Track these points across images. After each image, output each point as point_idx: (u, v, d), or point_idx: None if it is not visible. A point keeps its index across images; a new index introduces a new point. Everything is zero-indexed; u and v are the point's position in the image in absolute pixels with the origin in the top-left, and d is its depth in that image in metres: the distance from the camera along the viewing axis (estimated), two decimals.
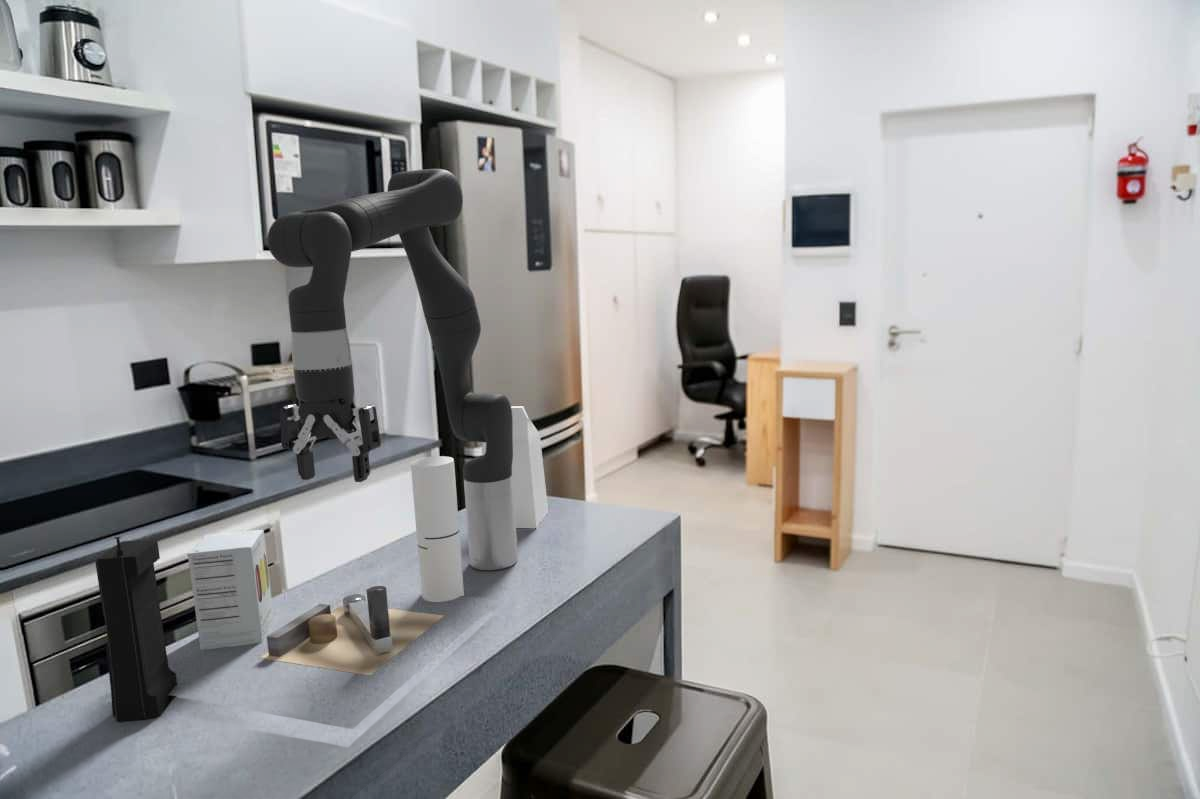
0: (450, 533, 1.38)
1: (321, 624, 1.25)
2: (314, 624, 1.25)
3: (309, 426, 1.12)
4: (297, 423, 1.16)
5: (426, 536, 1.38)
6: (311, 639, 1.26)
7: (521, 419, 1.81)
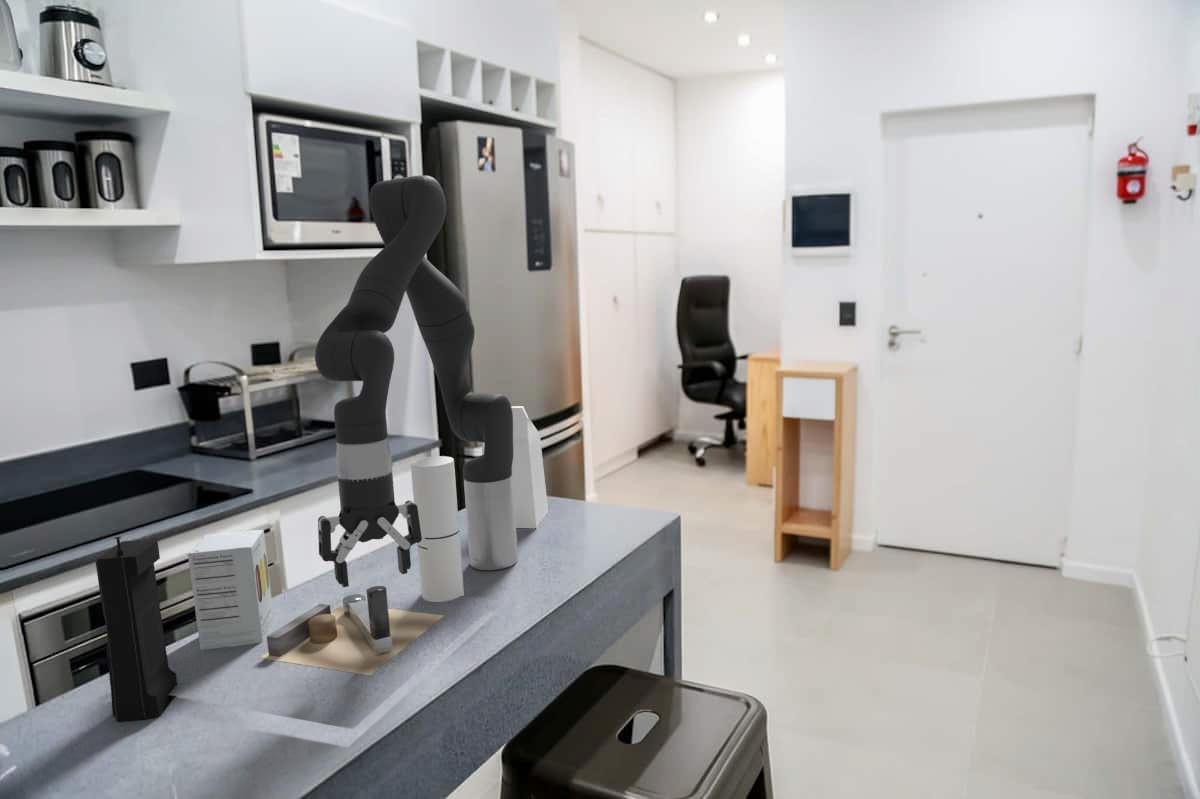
0: (450, 533, 1.38)
1: (321, 624, 1.25)
2: (314, 624, 1.25)
3: (360, 532, 1.17)
4: None
5: (426, 536, 1.38)
6: (311, 639, 1.26)
7: (521, 419, 1.81)
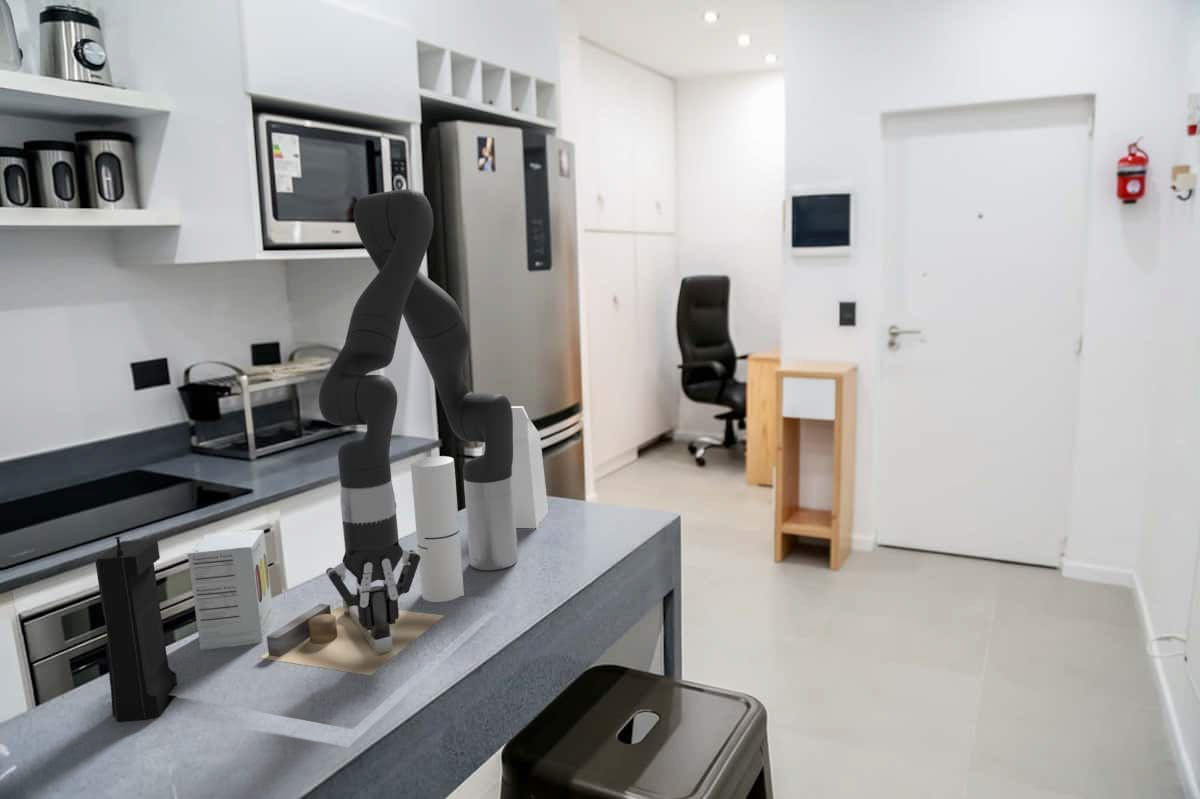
0: (450, 533, 1.38)
1: (321, 624, 1.25)
2: (314, 624, 1.25)
3: (369, 574, 1.18)
4: None
5: (426, 536, 1.38)
6: (311, 639, 1.26)
7: (521, 419, 1.81)
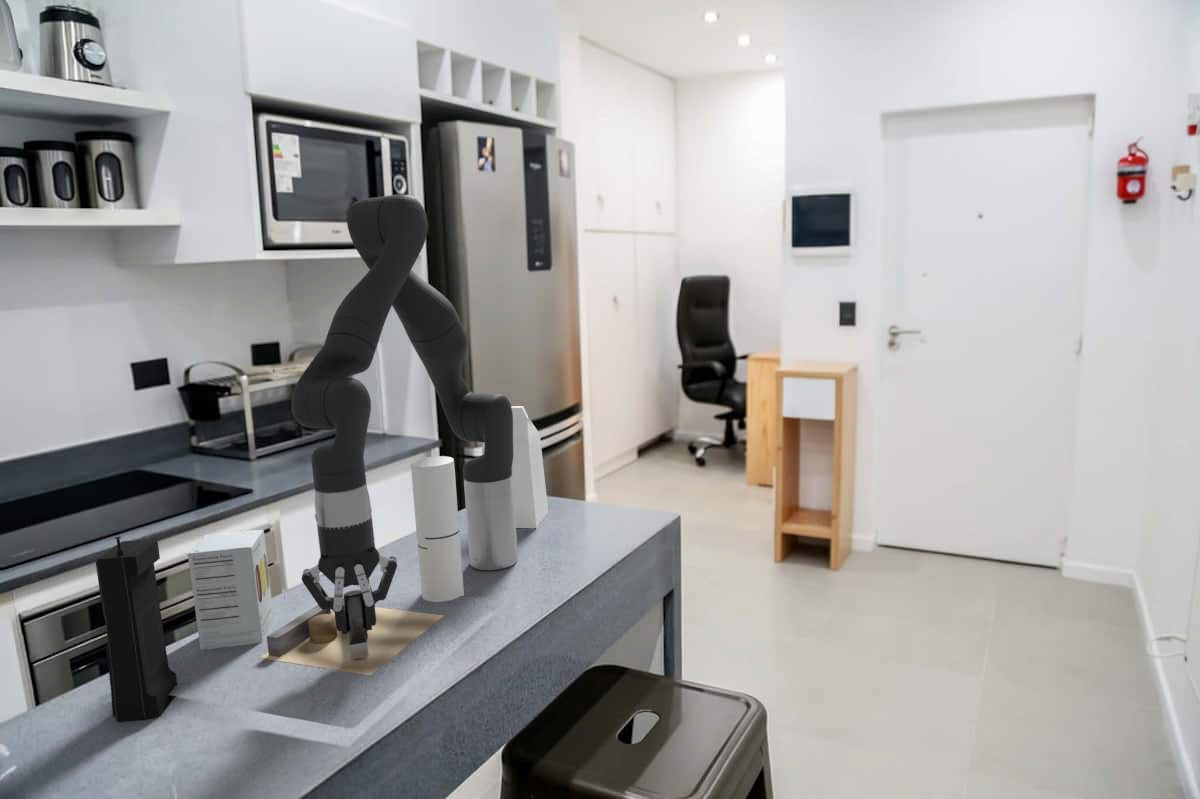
0: (450, 533, 1.38)
1: (320, 624, 1.25)
2: (313, 624, 1.25)
3: (341, 578, 1.17)
4: (318, 583, 1.19)
5: (426, 536, 1.38)
6: (311, 639, 1.26)
7: (521, 419, 1.81)
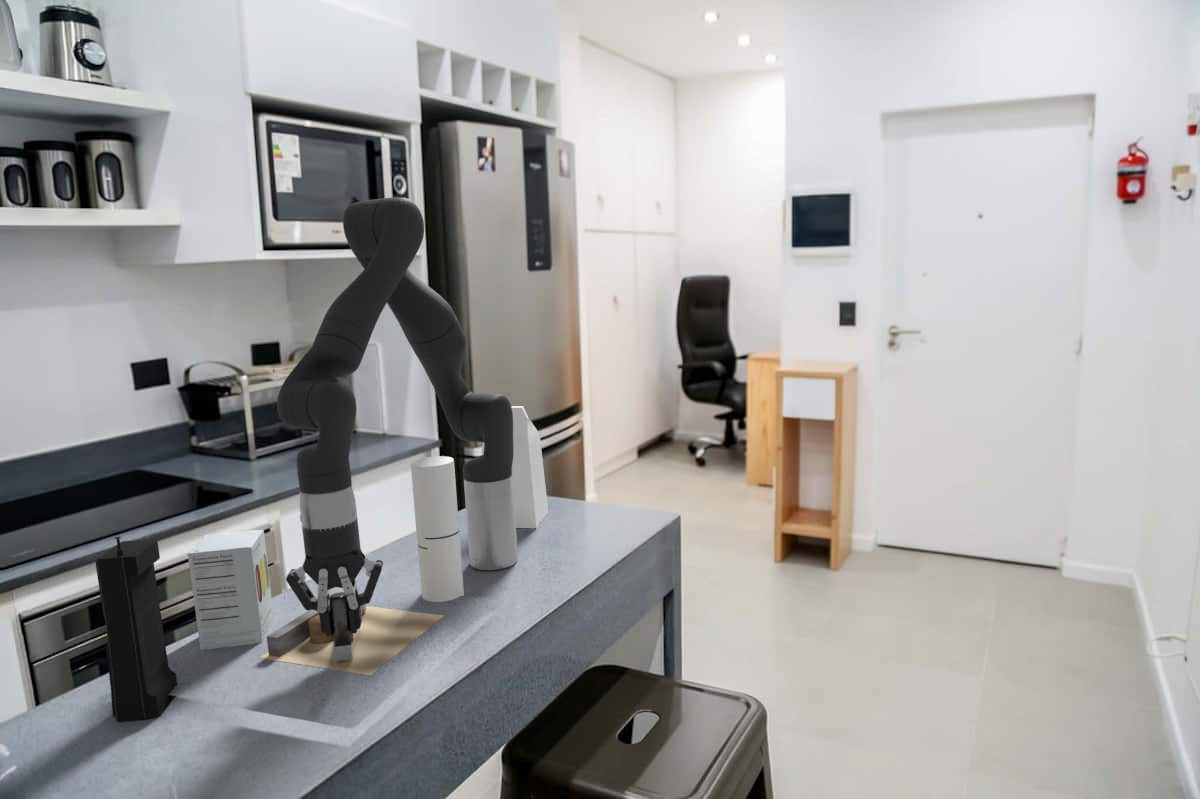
0: (450, 533, 1.38)
1: None
2: (313, 624, 1.25)
3: (324, 580, 1.16)
4: (305, 583, 1.19)
5: (426, 536, 1.38)
6: (311, 638, 1.26)
7: (521, 419, 1.81)
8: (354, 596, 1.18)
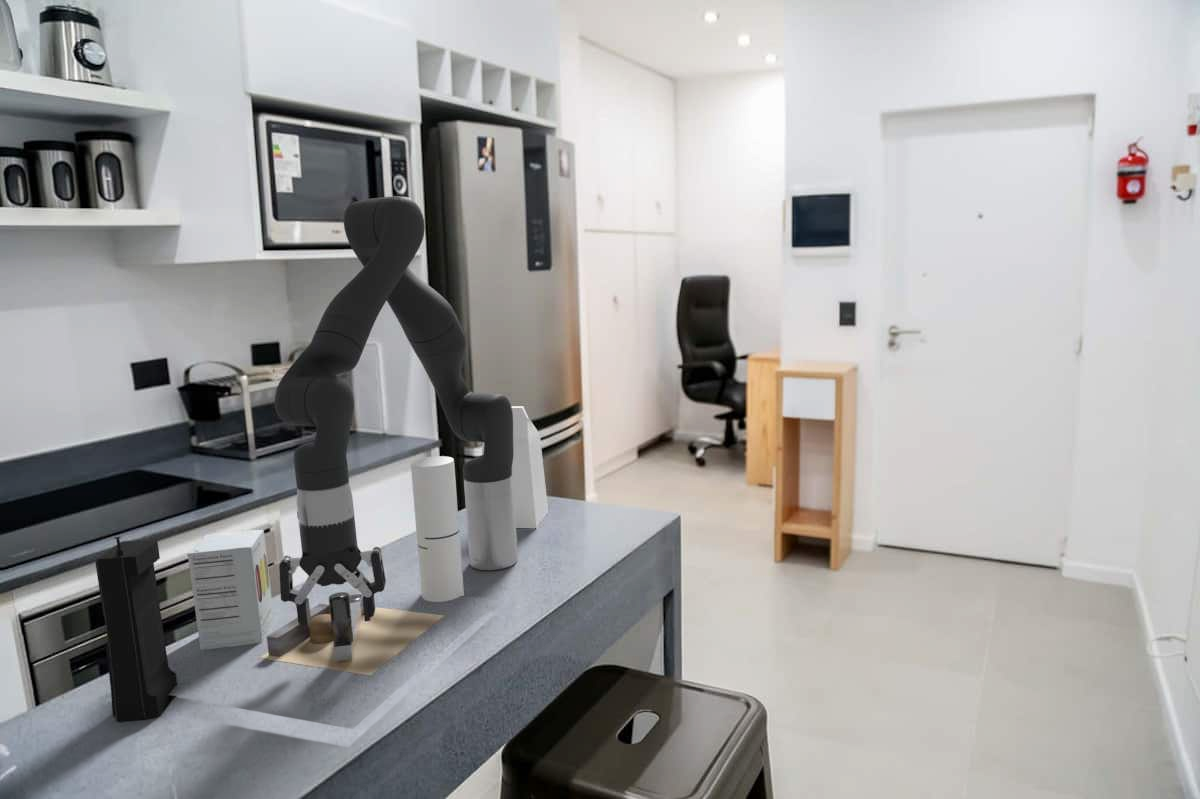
0: (450, 533, 1.38)
1: (320, 624, 1.25)
2: (313, 623, 1.25)
3: (317, 576, 1.16)
4: (291, 574, 1.18)
5: (426, 536, 1.38)
6: (310, 638, 1.26)
7: (521, 419, 1.81)
8: (363, 585, 1.18)
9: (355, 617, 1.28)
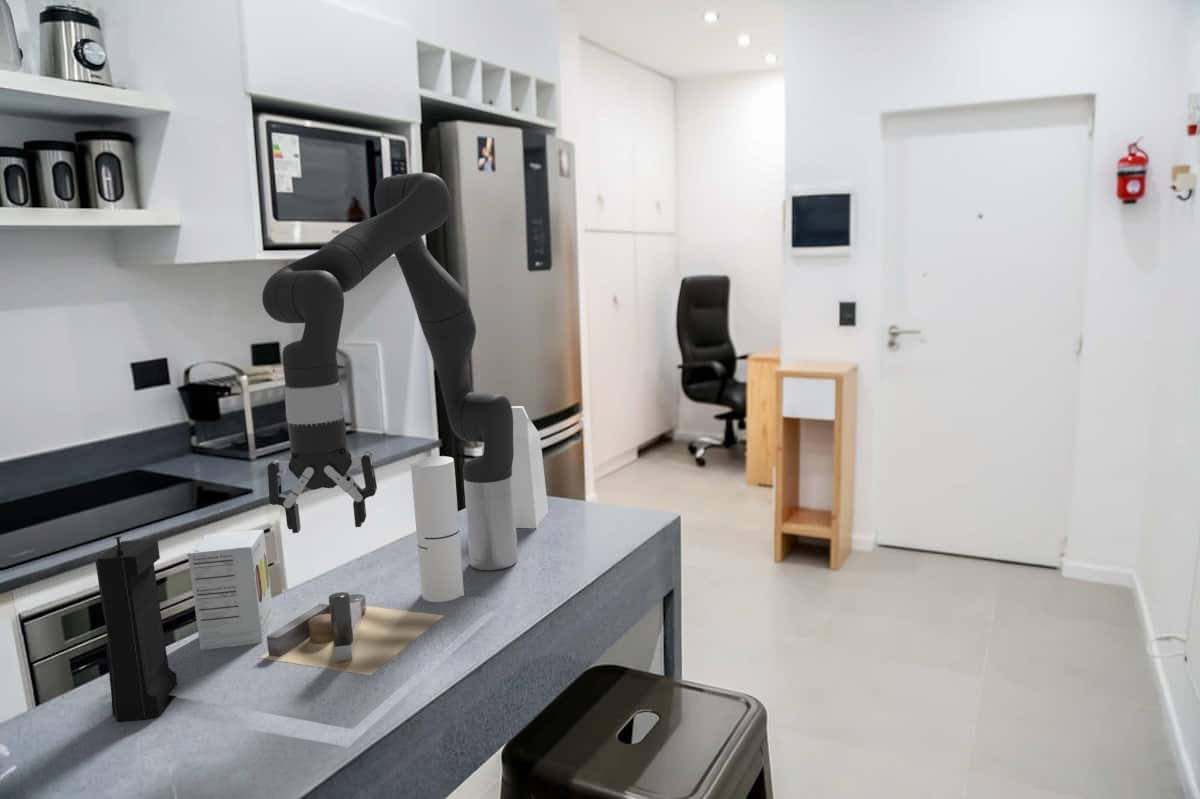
0: (450, 533, 1.38)
1: (319, 624, 1.25)
2: (313, 624, 1.25)
3: (306, 479, 1.14)
4: (280, 478, 1.16)
5: (426, 536, 1.38)
6: (310, 638, 1.26)
7: (521, 419, 1.81)
8: (354, 489, 1.16)
9: (355, 617, 1.28)
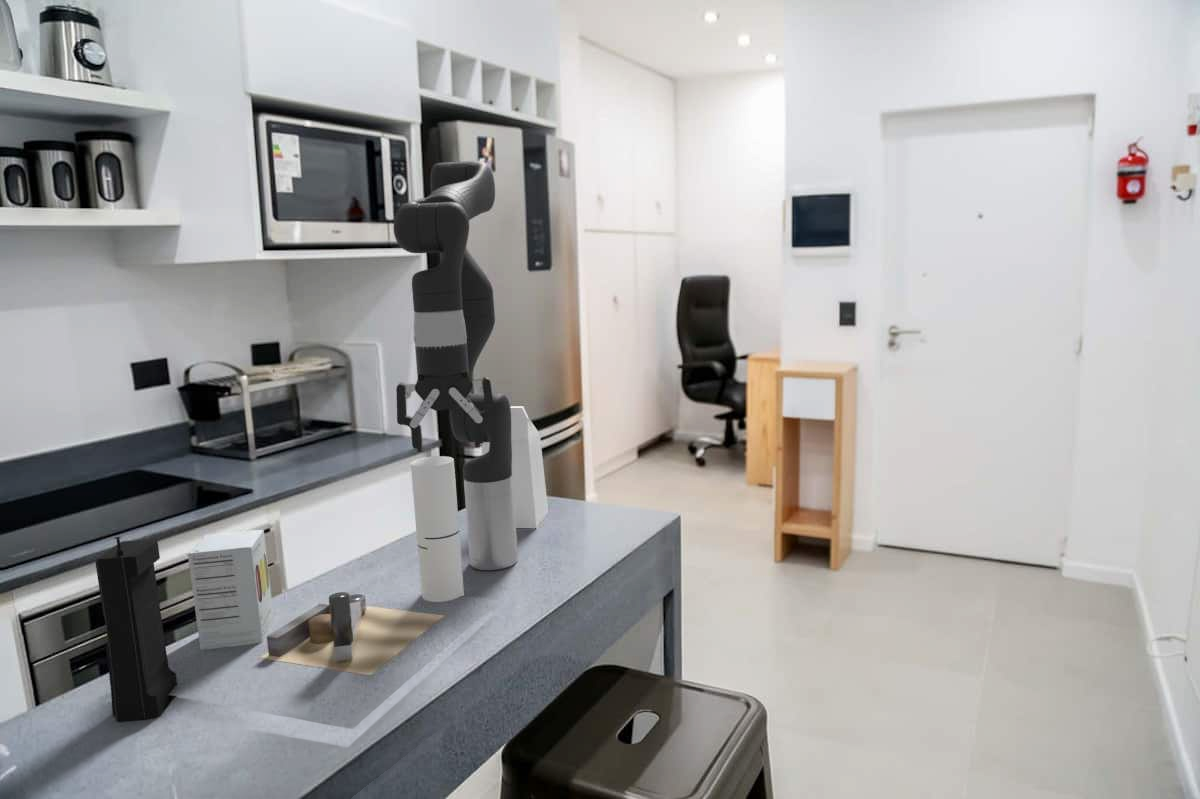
0: (450, 533, 1.38)
1: (318, 624, 1.25)
2: (312, 623, 1.26)
3: (432, 400, 1.21)
4: None
5: (426, 536, 1.38)
6: (310, 638, 1.26)
7: (521, 419, 1.81)
8: (475, 410, 1.23)
9: (355, 617, 1.28)
